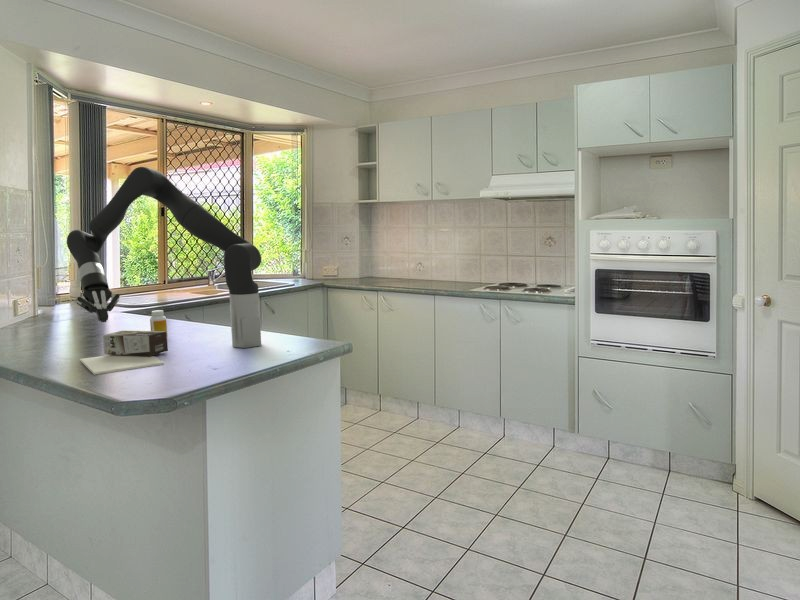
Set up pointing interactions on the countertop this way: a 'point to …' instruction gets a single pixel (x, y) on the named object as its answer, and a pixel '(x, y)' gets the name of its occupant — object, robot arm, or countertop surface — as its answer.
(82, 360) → the cream board
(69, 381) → the countertop surface
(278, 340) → the countertop surface
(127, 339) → the coffee box
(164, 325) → the supplement bottle
